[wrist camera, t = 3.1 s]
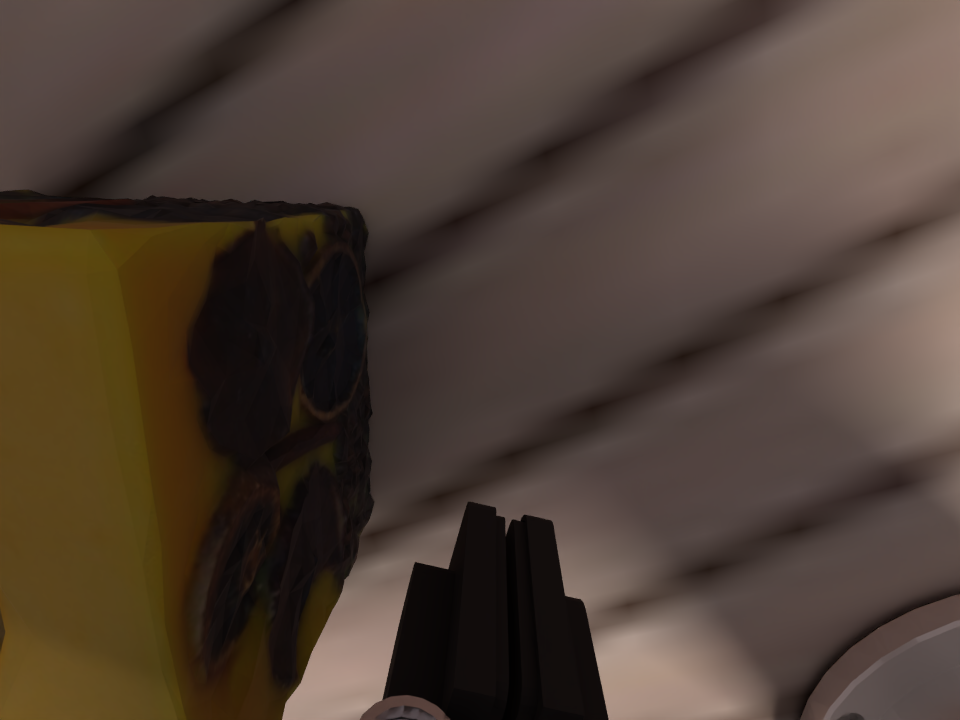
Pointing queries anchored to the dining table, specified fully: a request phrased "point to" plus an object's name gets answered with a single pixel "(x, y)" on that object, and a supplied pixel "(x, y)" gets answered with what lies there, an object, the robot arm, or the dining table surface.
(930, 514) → the dining table surface
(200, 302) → the candle
